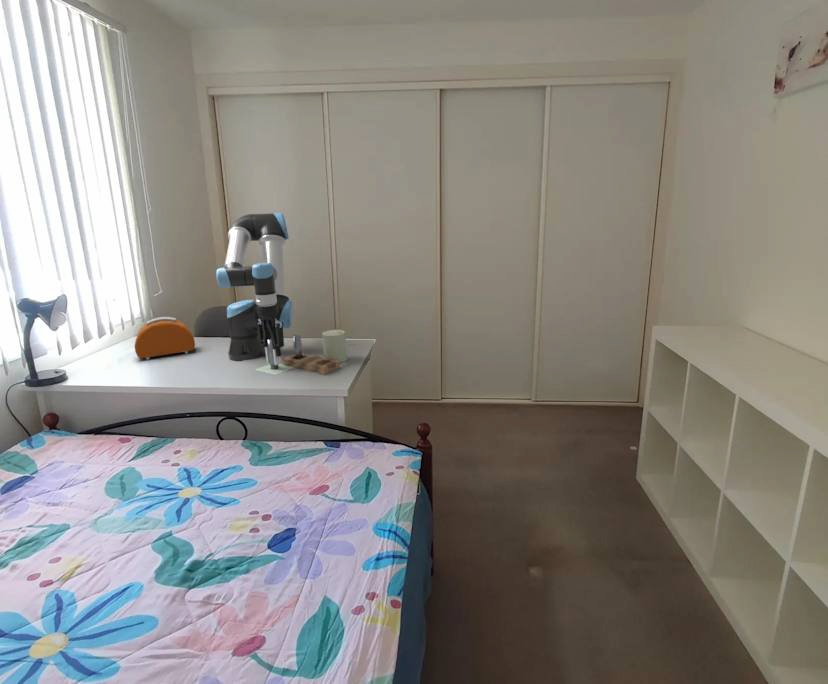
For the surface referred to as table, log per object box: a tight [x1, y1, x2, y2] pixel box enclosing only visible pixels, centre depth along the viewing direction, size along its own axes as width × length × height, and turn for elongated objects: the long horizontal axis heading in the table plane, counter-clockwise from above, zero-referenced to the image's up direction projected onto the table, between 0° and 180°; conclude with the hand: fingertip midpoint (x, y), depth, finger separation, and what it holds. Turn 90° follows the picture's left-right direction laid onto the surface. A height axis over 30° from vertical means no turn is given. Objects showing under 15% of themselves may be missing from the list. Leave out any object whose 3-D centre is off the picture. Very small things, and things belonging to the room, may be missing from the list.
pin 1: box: [267, 337, 279, 370], centre depth 202 cm, size 3×3×12 cm
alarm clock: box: [134, 316, 196, 361], centre depth 226 cm, size 23×9×17 cm, turn 115°
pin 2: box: [292, 334, 304, 360], centre depth 206 cm, size 3×3×12 cm
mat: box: [254, 363, 295, 376], centre depth 203 cm, size 12×10×1 cm
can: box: [321, 329, 348, 363], centre depth 210 cm, size 9×9×12 cm
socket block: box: [282, 353, 341, 376], centre depth 204 cm, size 22×9×3 cm, turn 56°
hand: (274, 363), depth 203 cm, fingers open, 4 cm apart
